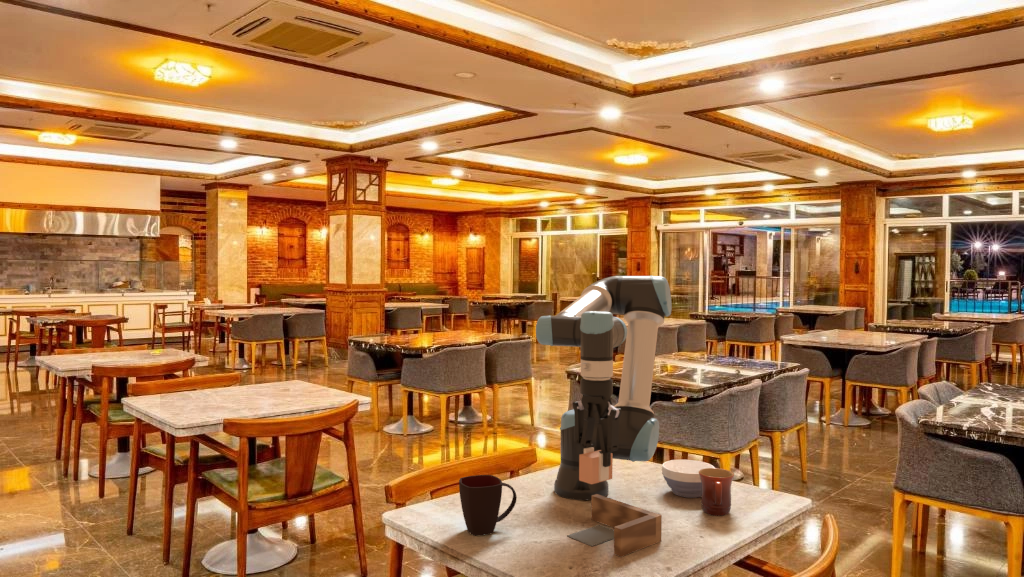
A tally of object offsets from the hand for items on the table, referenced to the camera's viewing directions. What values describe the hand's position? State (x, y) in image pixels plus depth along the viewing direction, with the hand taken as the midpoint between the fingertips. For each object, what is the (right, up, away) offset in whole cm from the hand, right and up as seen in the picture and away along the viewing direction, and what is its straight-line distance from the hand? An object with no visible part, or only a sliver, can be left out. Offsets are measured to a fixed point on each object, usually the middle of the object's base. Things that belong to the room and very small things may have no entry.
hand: (596, 477), depth 166 cm
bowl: (+30, -13, +32) cm, 46 cm away
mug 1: (-25, -14, +4) cm, 29 cm away
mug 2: (+32, -14, +15) cm, 38 cm away
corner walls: (+3, -14, 0) cm, 14 cm away
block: (0, 0, 0) cm, 1 cm away
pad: (0, -14, 0) cm, 14 cm away
